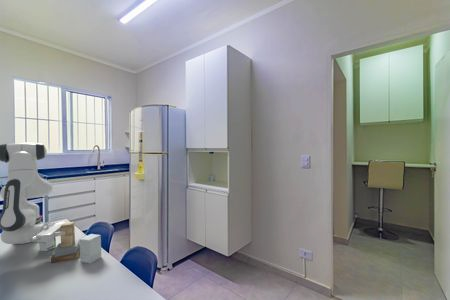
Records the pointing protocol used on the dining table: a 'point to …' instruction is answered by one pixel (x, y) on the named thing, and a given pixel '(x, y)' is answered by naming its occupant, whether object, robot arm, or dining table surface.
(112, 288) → the dining table surface
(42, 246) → the syrup box
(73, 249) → the tower top slab
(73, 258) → the tower base slab
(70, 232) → the oak block
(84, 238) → the supplement box
